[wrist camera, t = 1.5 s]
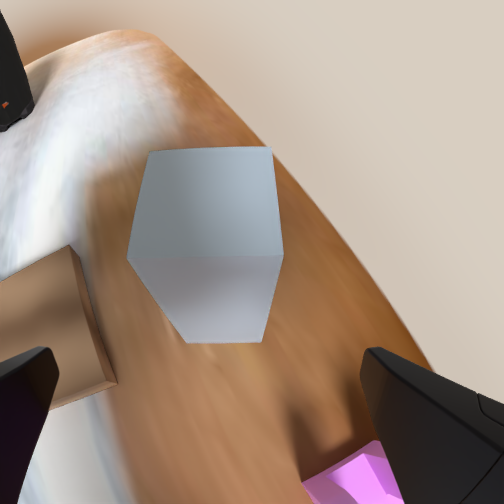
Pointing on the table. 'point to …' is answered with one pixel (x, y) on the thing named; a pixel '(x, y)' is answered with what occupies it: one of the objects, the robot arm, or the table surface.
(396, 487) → the bracket
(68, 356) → the plinth
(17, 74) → the portable speaker
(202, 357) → the table surface
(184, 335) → the block
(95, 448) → the table surface
